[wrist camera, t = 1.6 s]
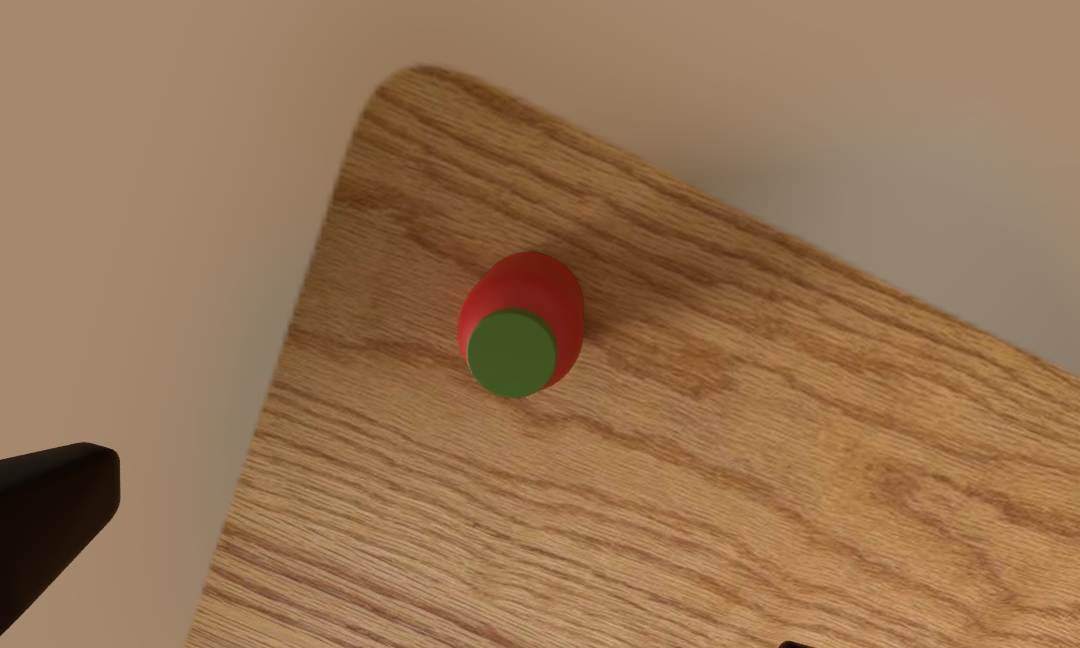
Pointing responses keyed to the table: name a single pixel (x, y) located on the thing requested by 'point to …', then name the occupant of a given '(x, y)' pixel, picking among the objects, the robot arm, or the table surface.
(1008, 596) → the table surface
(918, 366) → the table surface
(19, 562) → the robot arm
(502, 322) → the sriracha sauce bottle
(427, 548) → the table surface
